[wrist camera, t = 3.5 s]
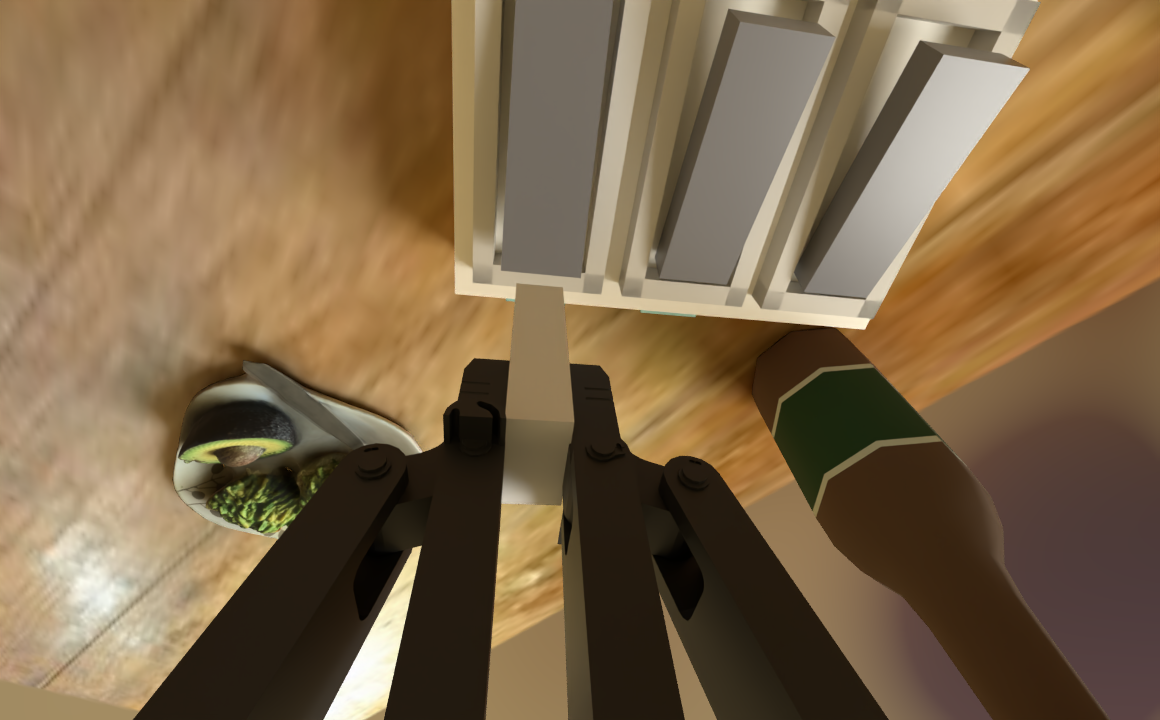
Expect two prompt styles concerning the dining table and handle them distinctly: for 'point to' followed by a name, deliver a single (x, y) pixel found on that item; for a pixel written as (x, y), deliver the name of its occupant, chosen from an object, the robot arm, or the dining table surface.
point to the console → (660, 139)
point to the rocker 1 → (553, 132)
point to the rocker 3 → (906, 164)
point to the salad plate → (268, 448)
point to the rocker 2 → (738, 140)
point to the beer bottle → (912, 520)
